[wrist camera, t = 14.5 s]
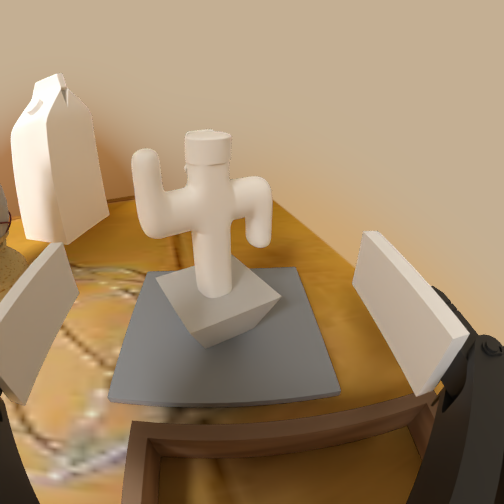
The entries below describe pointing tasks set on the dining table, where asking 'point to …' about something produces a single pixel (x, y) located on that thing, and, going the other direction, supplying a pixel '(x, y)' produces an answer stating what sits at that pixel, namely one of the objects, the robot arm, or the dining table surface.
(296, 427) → the walnut holder
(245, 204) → the figurine
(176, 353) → the slate pad
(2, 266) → the lantern
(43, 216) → the milk
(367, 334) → the dining table surface
